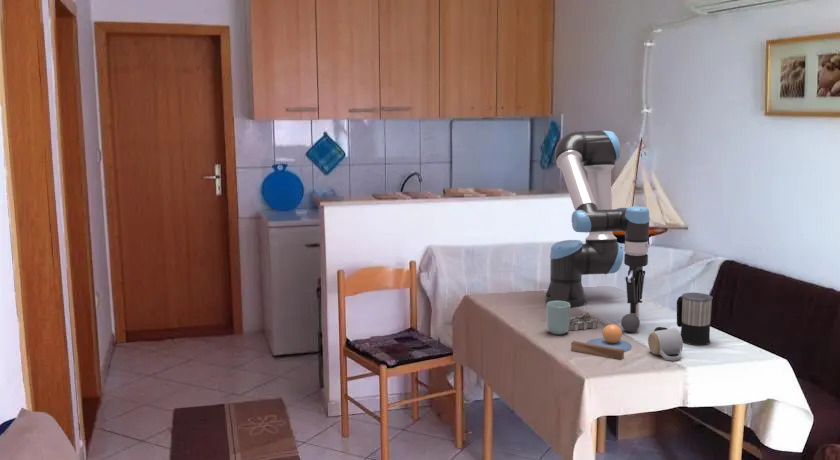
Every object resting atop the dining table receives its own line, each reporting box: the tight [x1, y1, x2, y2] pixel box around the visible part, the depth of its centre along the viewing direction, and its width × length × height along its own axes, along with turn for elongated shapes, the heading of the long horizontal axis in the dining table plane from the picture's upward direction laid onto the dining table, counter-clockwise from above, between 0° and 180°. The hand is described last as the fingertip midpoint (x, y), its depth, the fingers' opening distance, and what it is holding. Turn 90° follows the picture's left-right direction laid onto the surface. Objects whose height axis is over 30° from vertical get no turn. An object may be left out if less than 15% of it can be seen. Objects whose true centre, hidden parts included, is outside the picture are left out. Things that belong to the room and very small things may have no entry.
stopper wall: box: [570, 340, 625, 360], centre depth 233 cm, size 2×16×2 cm, turn 55°
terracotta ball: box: [602, 323, 623, 343], centre depth 243 cm, size 6×6×6 cm
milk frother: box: [653, 291, 713, 346], centre depth 243 cm, size 14×16×15 cm
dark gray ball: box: [620, 313, 641, 333], centre depth 254 cm, size 6×6×6 cm
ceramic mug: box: [647, 327, 684, 362], centre depth 230 cm, size 11×8×8 cm
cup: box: [546, 301, 571, 335], centre depth 254 cm, size 8×8×10 cm
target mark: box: [585, 337, 633, 353], centre depth 241 cm, size 14×14×1 cm
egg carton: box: [568, 312, 599, 332], centre depth 261 cm, size 11×8×4 cm
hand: (634, 321), depth 259 cm, fingers closed
